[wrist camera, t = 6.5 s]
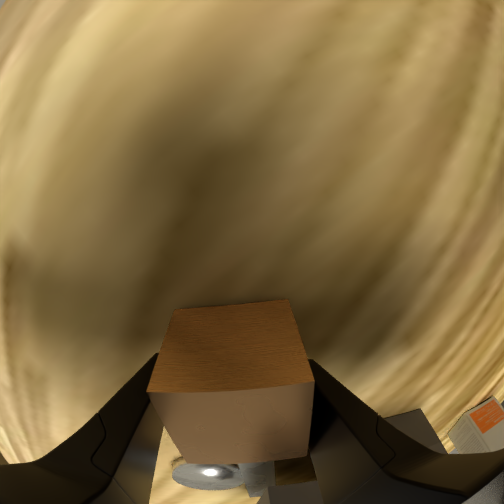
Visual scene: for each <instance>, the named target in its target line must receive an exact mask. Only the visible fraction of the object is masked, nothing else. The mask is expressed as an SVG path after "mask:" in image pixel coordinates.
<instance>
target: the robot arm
mask: <svg viewBox="0 0 504 504" xmlns="http://www.w3.org/2000/svg"><path fill="white" fill-rule="evenodd" d="M158 355H159V353H156V354H155V355H154V356H153V357H152V358H151V359H150V360H149V361H148V362H147V363H146V364H145V365H144V366H143V367H142V368H141V369H140V370H139V371H138V372H137V373H136V374H135V375H134V376H133V377H132V378H131V379H130V380H129V381H128V382H127V383H126V384H125V385H124V386H123V387H122V388H121V389H120V390H119V391H118V392H117V393H116V394H115V395H114V396H113V397H112V398H111V399H110V400H109V401H108V402H107V403H106V404H105V405H104V406H103V407H102V408H101V409H100V410H99V411H98V413H96V414H95V415H94V416H93V417H92V418H91V419H90V420H89V421H88V422H87V423H86V424H85V425H84V426H83V427H81V428H80V429H79V430H78V431H77V432H75V433H74V434H73V435H72V436H71V437H69V438H68V439H67V440H65V441H64V442H63V443H61V444H60V445H59V446H57V447H56V448H55V449H53V450H52V451H50V452H49V453H48V454H46V455H45V456H43V457H42V458H40V459H38V460H35V461H32V462H27V463H17V464H3V465H0V504H149V499H150V493H151V488H152V482H153V477H154V471H155V466H156V461H157V456H158V451H159V446H160V441H161V436H162V432H163V427H164V425H163V423H162V421H161V419H160V417H159V416H158V414H157V412H156V410H155V408H154V406H153V404H152V402H151V400H150V398H149V396H148V394H147V392H146V391H147V388H148V385H149V382H150V379H151V376H152V373H153V370H154V367H155V364H156V361H157V358H158ZM308 361H309V365H310V368H311V371H312V374H313V377H314V380H315V384H314V396H313V407H312V417H311V426H310V435H309V443H308V448H309V451H310V455H311V459H312V462H313V466H314V470H315V473H316V477H317V481H318V485H319V488H320V492H321V496H322V499H323V503H324V504H504V448H503V449H500V450H498V451H493V452H485V453H470V454H443V453H439V452H436V451H434V450H432V449H430V448H428V447H426V446H425V445H423V444H421V443H420V442H418V441H416V440H415V439H413V438H411V437H410V436H408V435H406V434H405V433H403V432H402V431H400V430H399V429H397V428H396V427H394V426H393V425H392V424H390V423H389V422H388V421H386V420H385V419H384V418H383V417H381V416H380V415H378V413H376V412H375V411H374V410H373V409H371V408H370V407H369V406H368V405H366V404H365V403H364V402H363V401H361V400H360V399H359V398H358V397H357V396H355V395H354V394H353V393H352V392H351V391H349V390H348V389H347V388H346V387H345V386H343V385H342V384H341V383H340V382H339V381H337V380H336V379H335V378H334V377H333V376H332V375H330V374H329V373H328V372H327V371H326V370H325V369H323V368H322V367H321V366H320V365H319V364H318V363H316V362H315V361H314V360H312V359H308Z"/></svg>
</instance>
